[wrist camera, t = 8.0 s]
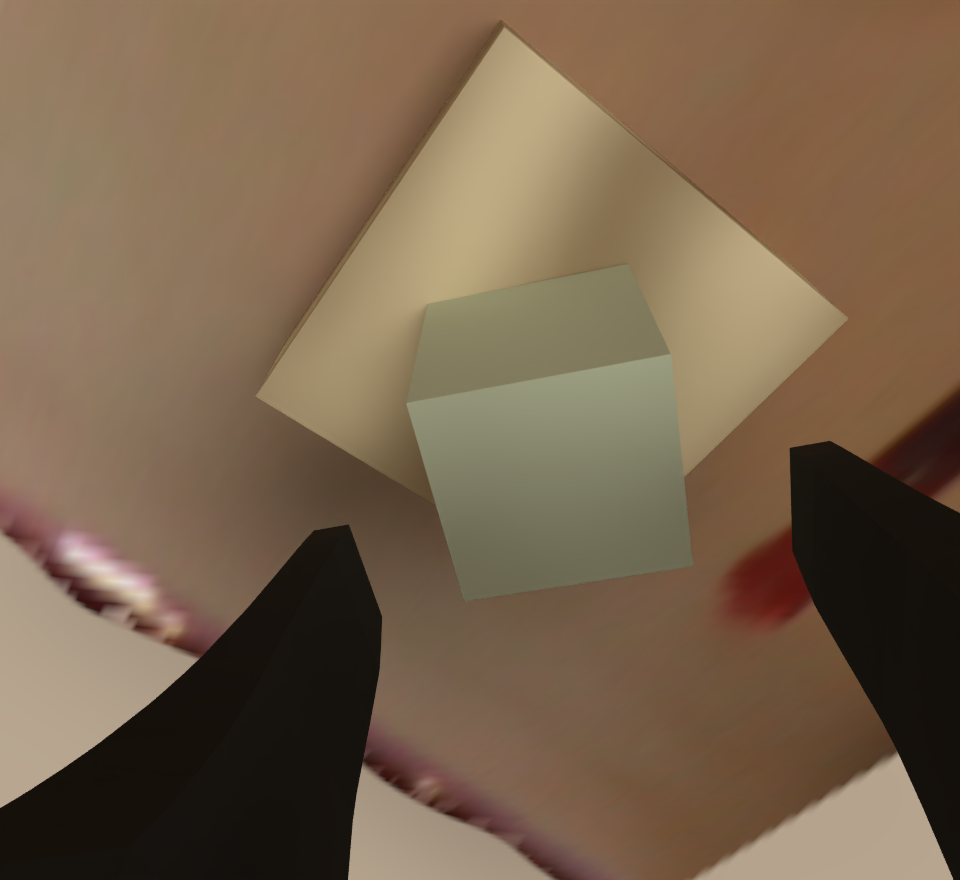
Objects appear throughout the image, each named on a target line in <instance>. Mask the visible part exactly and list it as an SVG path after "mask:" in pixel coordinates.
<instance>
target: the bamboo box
mask: <svg viewBox="0 0 960 880" xmlns="http://www.w3.org/2000/svg"><path fill="white" fill-rule="evenodd" d="M624 264H629V266H630V268H631V270H632V273H633V275H634V277H635V279H636V281H637V283H638V285H639V287H640V290H641V292H642V294H643V296H644V298H645V300H646V302H647V304H648V306H649V309H650V311H651V313H652V315H653V317H654V319H655V321H656V323H657V326H658V328H659V330H660V332H661V334H662V336H663V338H664V340H665V342H666V345H667V347H668V349H669V351H670V353H671V359H672V369H673V378H674V388H675V397H676V407H677V416H678V426H679V435H680V445H681V454H682V464H683V474H684V477H685V476H686V475H687V474H688V473H689V472H690V471H691V470H692V469H693V468H694V467H695V466H696V465H697V464H698V463H699V462H700V461H702V460H703V459H704V458H705V457H706V456H707V455H708V454H709V453H710V452H711V451H712V450H713V449H714V448H715V447H716V446H717V445H718V444H719V443H720V442H721V441H722V440H723V439H724V438H725V437H726V436H727V435H728V434H730V433H731V432H732V431H733V430H734V429H735V428H736V427H737V426H738V425H739V424H740V423H741V422H742V421H743V420H744V419H745V418H746V417H747V416H748V415H749V414H750V413H751V412H752V411H753V410H754V409H755V408H756V407H758V406H759V405H760V404H761V403H762V402H763V401H764V400H765V399H766V398H767V397H768V396H769V395H770V394H771V393H772V392H773V391H774V390H775V389H776V388H777V387H778V386H779V385H780V384H781V383H782V382H783V381H784V380H786V379H787V378H788V377H789V376H790V375H791V374H792V373H793V372H794V371H795V370H796V369H797V368H798V367H799V366H800V365H801V364H802V363H803V362H804V361H805V360H806V359H807V358H808V357H809V356H810V355H811V354H812V353H814V352H815V351H816V350H817V349H818V348H819V347H820V346H821V345H822V344H823V343H824V342H825V341H826V340H827V339H828V338H829V337H830V336H831V335H832V334H833V333H834V332H835V331H836V330H837V329H838V328H839V327H840V326H842V325H843V324H844V323H845V322H846V321H847V320H848V319H849V318H847V317H846V316H845V315H844V314H843V313H842V312H841V311H840V310H839V309H838V308H837V307H836V306H835V305H834V304H832V303H831V302H830V301H829V300H828V299H827V298H826V297H825V296H824V295H823V294H822V293H821V292H820V291H819V290H817V289H816V288H815V287H814V286H813V285H812V284H811V283H810V282H809V281H808V280H807V279H806V278H805V277H804V276H802V275H801V274H800V273H799V272H798V271H797V270H796V269H795V268H794V267H792V266H791V265H790V264H789V263H788V262H787V261H785V260H784V259H783V258H782V257H781V256H779V255H778V254H777V253H776V252H775V251H774V250H772V249H771V248H770V247H769V246H768V245H767V244H765V243H764V242H763V241H762V240H761V239H759V238H758V237H757V236H756V235H755V234H754V233H752V232H751V231H750V230H749V229H748V228H746V227H745V226H744V225H743V224H742V223H741V222H739V221H738V220H737V219H736V218H735V217H733V216H732V215H731V214H730V213H729V212H728V211H726V210H725V209H724V208H723V207H722V206H721V205H719V204H718V203H717V202H716V201H715V200H713V199H712V198H711V197H710V196H709V195H708V194H706V193H705V192H704V191H703V190H702V189H700V188H699V187H698V186H697V185H696V184H695V183H693V182H692V181H691V180H690V179H689V178H687V177H686V176H685V175H684V174H683V173H682V172H680V171H679V170H678V169H677V168H676V167H675V166H673V165H672V164H671V163H670V162H669V161H667V160H666V159H665V158H664V157H663V156H662V155H660V154H659V153H658V152H657V151H656V150H654V149H653V148H652V147H651V146H650V145H649V144H647V143H646V142H645V141H644V140H643V139H641V138H640V137H639V136H638V135H637V134H636V133H634V132H633V131H632V130H631V129H630V128H629V127H627V126H626V125H625V124H624V123H623V122H621V121H620V120H619V119H618V118H617V117H616V116H614V115H613V114H612V113H611V112H610V111H608V110H607V109H606V108H605V107H604V106H603V105H601V104H600V103H599V102H598V101H597V100H595V99H594V98H593V97H592V96H591V95H590V94H588V93H587V92H586V91H585V90H584V89H583V88H581V87H580V86H579V85H578V84H577V83H575V82H574V81H573V80H572V79H571V78H570V77H568V76H567V75H566V74H565V73H564V72H562V71H561V70H560V69H559V68H558V67H557V66H555V65H554V64H553V63H552V62H551V61H549V60H548V59H547V58H546V57H545V56H544V55H542V54H541V53H540V52H539V51H538V50H537V49H535V48H534V47H533V46H532V45H531V44H529V43H528V42H527V41H526V40H525V39H524V38H522V37H521V36H520V35H519V34H518V33H516V32H515V31H514V30H513V29H512V28H511V27H509V26H508V25H507V24H506V23H505V22H503V21H502V20H501V21H500V23H499V24H498V26H497V27H496V29H495V30H494V32H493V33H492V35H491V36H490V38H489V39H488V41H487V42H486V44H485V45H484V47H483V48H482V50H481V51H480V53H479V54H478V56H477V57H476V59H475V60H474V61H473V63H472V64H471V66H470V67H469V69H468V70H467V72H466V73H465V75H464V76H463V78H462V79H461V81H460V82H459V84H458V85H457V87H456V88H455V90H454V91H453V93H452V94H451V96H450V97H449V99H448V100H447V102H446V103H445V105H444V106H443V108H442V109H441V111H440V112H439V114H438V115H437V117H436V118H435V120H434V121H433V123H432V124H431V126H430V127H429V129H428V130H427V132H426V133H425V135H424V136H423V138H422V139H421V141H420V142H419V144H418V145H417V147H416V148H415V150H414V151H413V153H412V154H411V156H410V157H409V159H408V160H407V162H406V163H405V164H404V166H403V167H402V169H401V170H400V172H399V173H398V175H397V176H396V178H395V179H394V181H393V182H392V184H391V185H390V187H389V188H388V190H387V191H386V193H385V194H384V196H383V197H382V199H381V200H380V202H379V203H378V205H377V206H376V208H375V209H374V211H373V212H372V214H371V215H370V217H369V218H368V220H367V221H366V223H365V224H364V226H363V227H362V229H361V230H360V232H359V233H358V235H357V236H356V238H355V239H354V241H353V242H352V244H351V245H350V247H349V248H348V250H347V251H346V253H345V254H344V256H343V257H342V259H341V260H340V262H339V263H338V265H337V266H336V267H335V269H334V270H333V272H332V273H331V275H330V276H329V278H328V279H327V281H326V282H325V284H324V285H323V287H322V288H321V290H320V291H319V293H318V294H317V296H316V297H315V299H314V300H313V302H312V303H311V305H310V306H309V308H308V309H307V311H306V312H305V314H304V315H303V317H302V318H301V320H300V321H299V323H298V324H297V326H296V327H295V329H294V330H293V332H292V333H291V335H290V336H289V338H288V339H287V341H286V343H285V344H284V346H283V348H282V350H281V352H280V353H279V355H278V357H277V359H276V360H275V362H274V364H273V366H272V368H271V369H270V371H269V373H268V375H267V377H266V378H265V380H264V382H263V384H262V386H261V387H260V389H259V391H258V393H257V394H256V397H257V398H259V399H260V400H262V401H264V402H265V403H267V404H269V405H270V406H272V407H274V408H275V409H277V410H279V411H280V412H282V413H284V414H285V415H287V416H288V417H290V418H292V419H293V420H295V421H297V422H298V423H300V424H302V425H303V426H305V427H307V428H308V429H310V430H312V431H313V432H315V433H317V434H318V435H320V436H321V437H323V438H325V439H326V440H328V441H330V442H331V443H333V444H335V445H336V446H338V447H340V448H341V449H343V450H345V451H346V452H348V453H350V454H351V455H353V456H354V457H356V458H358V459H359V460H361V461H363V462H364V463H366V464H368V465H369V466H371V467H373V468H374V469H376V470H378V471H379V472H381V473H383V474H384V475H386V476H387V477H389V478H391V479H392V480H394V481H396V482H397V483H399V484H401V485H402V486H404V487H406V488H407V489H409V490H411V491H412V492H414V493H416V494H417V495H419V496H420V497H422V498H424V499H425V500H427V501H429V502H430V503H432V504H434V505H435V506H436V504H435V500H434V497H433V493H432V490H431V487H430V483H429V480H428V476H427V473H426V469H425V466H424V463H423V459H422V456H421V452H420V449H419V445H418V442H417V439H416V435H415V432H414V428H413V425H412V421H411V418H410V414H409V411H408V408H407V404H406V402H407V397H408V392H409V388H410V383H411V378H412V374H413V369H414V365H415V360H416V355H417V351H418V346H419V342H420V337H421V332H422V328H423V323H424V318H425V314H426V309H427V305H428V304H429V303H434V302H439V301H444V300H449V299H454V298H459V297H464V296H469V295H474V294H479V293H484V292H489V291H494V290H499V289H504V288H509V287H514V286H519V285H524V284H529V283H534V282H539V281H544V280H549V279H554V278H559V277H564V276H569V275H574V274H579V273H584V272H589V271H594V270H599V269H604V268H609V267H614V266H619V265H624ZM568 586H569V587H571V586H572V585H568Z"/></svg>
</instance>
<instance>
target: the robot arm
mask: <svg viewBox="0 0 960 880" xmlns="http://www.w3.org/2000/svg"><path fill="white" fill-rule="evenodd" d="M790 476H791V513H792V551H793V553H794V556H795V558H796V561H797V563H798V566H799V569H800V571H801V574H802V576H803V579H804V581H805V583H806V586H807V588H808V591H809V593H810V595H811V598H812V600H813V602H814V605H815V606H816V608H817V610H818V612H819V614H820V615H821V617H822V619H823V621H824V622H825V624H826V626H827V628H828V629H829V631H830V633H831V635H832V636H833V638H834V640H835V642H836V643H837V645H838V647H839V648H840V650H841V652H842V654H843V655H844V657H845V659H846V660H847V662H848V664H849V666H850V667H851V669H852V671H853V672H854V674H855V676H856V678H857V679H858V681H859V683H860V684H861V686H862V688H863V690H864V691H865V693H866V695H867V696H868V698H869V700H870V702H871V703H872V705H873V707H874V708H875V710H876V712H877V714H878V715H879V717H880V719H881V720H882V722H883V724H884V726H885V728H886V730H887V732H888V734H889V736H890V737H891V739H892V741H893V743H894V745H895V747H896V749H897V751H898V753H899V756H900V758H901V760H902V762H903V765H904V767H905V769H906V771H907V773H908V776H909V778H910V780H911V782H912V784H913V787H914V789H915V791H916V793H917V796H918V798H919V800H920V802H921V804H922V807H923V809H924V811H925V814H926V816H927V818H928V821H929V823H930V825H931V828H932V830H933V832H934V835H935V837H936V839H937V842H938V844H939V846H940V849H941V851H942V853H943V856H944V858H945V861H946V863H947V865H948V867H949V870H950V872H951V875H952V877H953V880H960V513H959V512H957V511H955V510H953V509H951V508H949V507H947V506H945V505H943V504H941V503H939V502H937V501H935V500H934V499H932V498H930V497H928V496H926V495H924V494H922V493H921V492H919V491H917V490H915V489H913V488H911V487H910V486H908V485H906V484H904V483H903V482H901V481H899V480H897V479H896V478H894V477H892V476H890V475H889V474H887V473H885V472H883V471H882V470H880V469H878V468H877V467H875V466H873V465H871V464H870V463H868V462H866V461H865V460H863V459H861V458H859V457H858V456H856V455H854V454H853V453H851V452H849V451H847V450H846V449H844V448H842V447H840V446H838V445H837V444H835V443H833V442H831V441H827V442H821V443H815V444H810V445H804V446H798V447H792V448H790ZM381 630H382V615H381V612H380V610H379V607H378V604H377V601H376V599H375V596H374V593H373V590H372V587H371V585H370V582H369V579H368V576H367V574H366V571H365V568H364V565H363V563H362V560H361V557H360V554H359V552H358V549H357V546H356V543H355V540H354V538H353V535H352V532H351V529H350V527H349V525H343V526H338V527H332V528H326V529H320V530H315V531H313V532H312V533H311V534H310V535H309V537H308V538H307V539H306V540H305V541H304V542H303V543H302V544H301V546H300V547H299V548H298V549H297V550H296V551H295V553H294V554H293V555H292V556H291V557H290V559H289V560H288V561H287V562H286V563H285V565H284V566H283V567H282V568H281V569H280V571H279V572H278V573H277V574H276V575H275V577H274V578H273V579H272V580H271V581H270V582H269V584H268V585H267V586H266V587H265V588H264V589H263V591H262V592H261V593H260V594H259V595H258V596H257V598H256V599H255V600H254V601H253V602H252V603H251V605H250V606H249V607H248V608H247V609H246V610H245V611H244V612H243V614H242V615H241V616H240V617H239V618H238V619H237V620H236V621H235V622H234V623H233V624H232V625H231V626H230V627H229V628H228V629H227V631H226V632H225V633H224V634H223V635H222V636H221V637H220V638H219V639H218V640H217V641H216V642H215V643H214V644H213V645H212V646H211V648H210V649H209V650H208V651H207V652H206V653H205V654H204V655H203V656H202V657H201V658H200V659H199V660H198V661H197V662H196V663H195V664H193V665H192V666H191V667H190V668H189V669H188V670H187V671H186V672H185V673H184V674H183V675H182V676H181V677H180V678H179V679H177V680H176V681H175V682H174V683H173V684H172V685H171V686H169V687H168V688H167V689H166V690H165V691H164V692H163V693H162V694H160V695H159V696H158V697H157V698H156V699H155V700H154V701H152V702H151V703H150V704H149V705H147V706H146V707H145V708H144V709H142V710H141V711H140V712H138V713H137V714H136V715H135V716H134V717H132V718H131V719H130V720H128V721H127V722H126V723H124V724H123V725H122V726H121V727H119V728H118V729H117V730H115V731H114V732H113V733H112V734H110V735H109V736H108V737H106V738H105V739H104V740H103V741H102V742H100V743H99V744H97V745H96V746H95V747H93V748H92V749H90V750H89V751H88V752H86V753H85V754H83V755H82V756H81V757H79V758H78V759H76V760H75V761H73V762H72V763H70V764H69V765H68V766H66V767H65V768H63V769H62V770H60V771H59V772H57V773H56V774H54V775H53V776H51V777H50V778H48V779H46V780H45V781H43V782H42V783H40V784H39V785H37V786H36V787H34V788H33V789H31V790H29V791H28V792H26V793H25V794H23V795H21V796H20V797H18V798H17V799H15V800H13V801H11V802H10V803H8V804H6V805H5V806H3V807H1V808H0V880H348V872H349V859H350V848H351V835H352V823H353V815H354V808H355V801H356V794H357V788H358V783H359V777H360V773H361V767H362V762H363V757H364V752H365V746H366V741H367V736H368V731H369V725H370V720H371V715H372V709H373V704H374V698H375V693H376V688H377V682H378V676H379V669H380V653H381Z"/></svg>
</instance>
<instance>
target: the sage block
mask: <svg viewBox="0 0 960 880" xmlns="http://www.w3.org/2000/svg"><path fill="white" fill-rule="evenodd" d="M406 404H407V408H408V411H409V414H410V418H411V421H412V425H413V428H414V432H415V435H416V439H417V442H418V445H419V449H420V452H421V456H422V459H423V463H424V466H425V469H426V473H427V476H428V480H429V483H430V487H431V490H432V493H433V497H434V500H435V504H436V507H437V511H438V514H439V517H440V521H441V524H442V528H443V531H444V535H445V538H446V541H447V545H448V548H449V552H450V555H451V559H452V562H453V566H454V569H455V572H456V576H457V579H458V583H459V586H460V590H461V593H462V596H463V600H464V601H470V600H477V599H483V598H490V597H496V596H503V595H509V594H516V593H523V592H529V591H536V590H542V589H549V588H555V587H562V586H568V585H575V584H581V583H588V582H594V581H601V580H607V579H614V578H620V577H627V576H633V575H640V574H646V573H653V572H660V571H666V570H673V569H679V568H686V567H692V566H693V559H692V550H691V540H690V531H689V521H688V512H687V502H686V493H685V483H684V474H683V464H682V454H681V445H680V435H679V426H678V416H677V407H676V397H675V388H674V378H673V369H672V359H671V353H670V351H669V349H668V347H667V345H666V342H665V340H664V338H663V336H662V334H661V332H660V330H659V328H658V326H657V323H656V321H655V319H654V317H653V315H652V313H651V311H650V309H649V306H648V304H647V302H646V300H645V298H644V296H643V294H642V292H641V290H640V287H639V285H638V283H637V281H636V279H635V277H634V275H633V273H632V270H631V268H630V266H629V264H624V265H619V266H614V267H609V268H604V269H599V270H594V271H589V272H584V273H579V274H574V275H569V276H564V277H559V278H554V279H549V280H544V281H539V282H534V283H529V284H524V285H519V286H514V287H509V288H504V289H499V290H494V291H489V292H484V293H479V294H474V295H469V296H464V297H459V298H454V299H449V300H444V301H439V302H434V303H429V304H428V305H427V309H426V314H425V318H424V323H423V328H422V332H421V337H420V342H419V346H418V351H417V355H416V360H415V365H414V369H413V374H412V378H411V383H410V388H409V392H408V397H407V402H406Z"/></svg>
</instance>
